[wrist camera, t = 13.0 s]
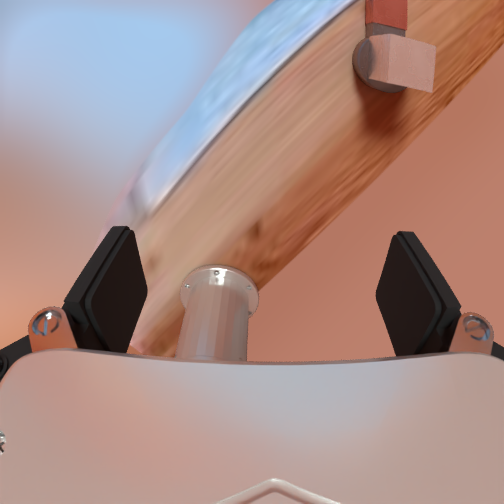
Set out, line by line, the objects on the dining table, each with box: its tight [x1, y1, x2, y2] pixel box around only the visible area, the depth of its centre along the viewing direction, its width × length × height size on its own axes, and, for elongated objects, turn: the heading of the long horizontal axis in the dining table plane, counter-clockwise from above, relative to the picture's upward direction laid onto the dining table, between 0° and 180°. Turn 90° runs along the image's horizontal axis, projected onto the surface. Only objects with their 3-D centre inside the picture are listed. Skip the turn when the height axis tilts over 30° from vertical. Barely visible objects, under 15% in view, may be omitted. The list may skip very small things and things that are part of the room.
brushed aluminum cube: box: [367, 34, 436, 93], centre depth 25 cm, size 5×5×6 cm
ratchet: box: [353, 0, 407, 93], centre depth 25 cm, size 14×7×6 cm, turn 179°
